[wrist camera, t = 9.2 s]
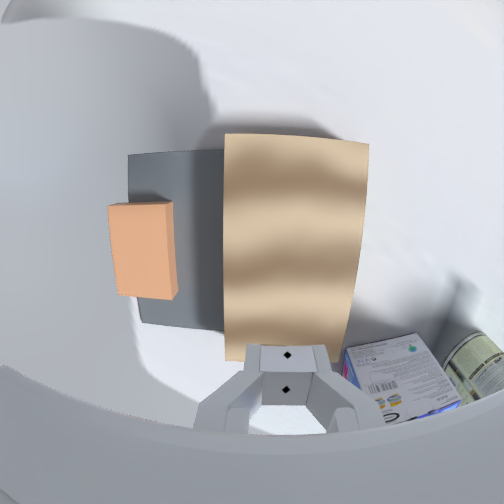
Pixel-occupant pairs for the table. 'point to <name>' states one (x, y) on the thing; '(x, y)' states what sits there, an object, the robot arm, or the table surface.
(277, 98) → the table surface
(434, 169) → the table surface
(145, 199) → the mat
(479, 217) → the table surface
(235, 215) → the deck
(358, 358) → the ink cartridge box
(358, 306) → the table surface
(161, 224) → the block
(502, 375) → the coffee can
